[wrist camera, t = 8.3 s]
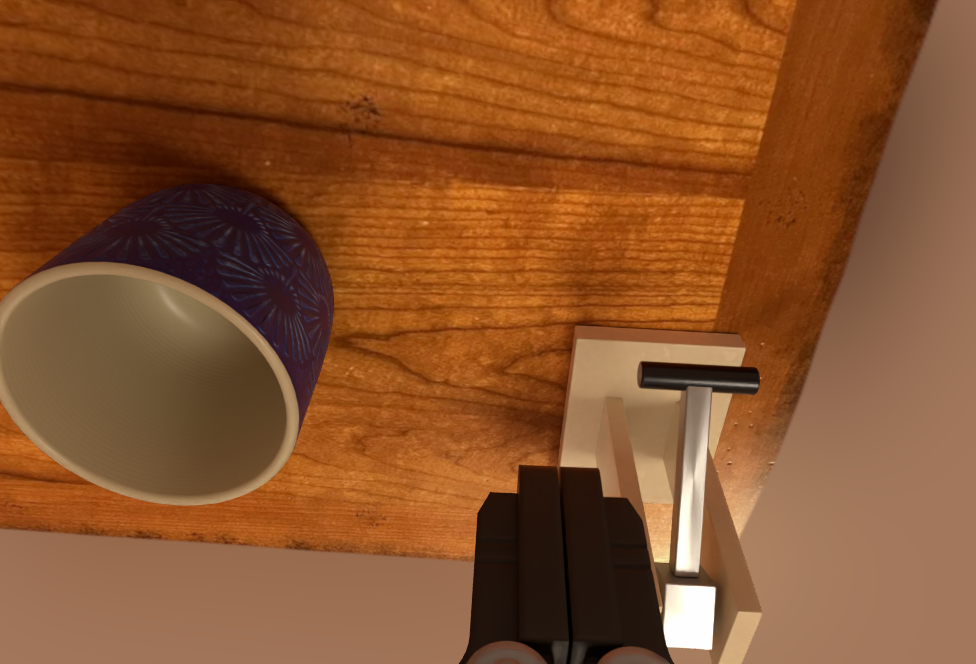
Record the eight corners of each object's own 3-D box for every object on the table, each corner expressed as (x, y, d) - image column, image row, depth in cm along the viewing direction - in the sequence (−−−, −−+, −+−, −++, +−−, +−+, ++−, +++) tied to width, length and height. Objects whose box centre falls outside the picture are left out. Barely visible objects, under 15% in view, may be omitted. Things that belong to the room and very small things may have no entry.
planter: (396, 315, 39) (357, 452, 29) (222, 394, 42) (139, 538, 33) (255, 113, 33) (152, 206, 24) (67, 224, 36) (-86, 343, 27)
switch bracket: (574, 324, 38) (600, 538, 26) (739, 333, 38) (844, 553, 26) (554, 482, 45) (567, 712, 33) (695, 490, 45) (761, 724, 33)
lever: (635, 358, 32) (646, 363, 29) (746, 364, 32) (766, 370, 29) (617, 620, 32) (627, 645, 30) (727, 626, 32) (746, 652, 30)
